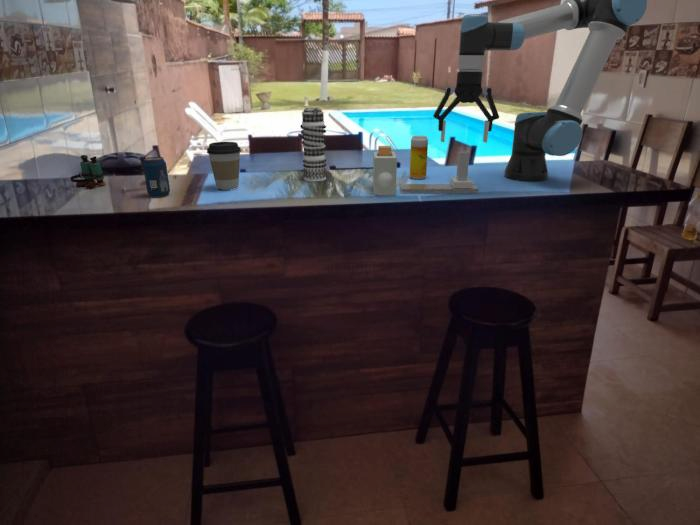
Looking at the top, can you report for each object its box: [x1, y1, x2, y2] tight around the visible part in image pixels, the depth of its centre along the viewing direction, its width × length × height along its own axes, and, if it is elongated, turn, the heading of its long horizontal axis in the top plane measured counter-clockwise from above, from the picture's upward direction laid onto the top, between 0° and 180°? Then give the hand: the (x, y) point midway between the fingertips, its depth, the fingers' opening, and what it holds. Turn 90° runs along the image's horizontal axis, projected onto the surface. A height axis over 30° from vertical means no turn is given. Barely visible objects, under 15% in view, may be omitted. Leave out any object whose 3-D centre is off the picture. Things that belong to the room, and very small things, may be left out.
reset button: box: [377, 145, 392, 156], centre depth 161 cm, size 4×4×5 cm
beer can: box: [409, 135, 429, 180], centre depth 181 cm, size 6×6×15 cm
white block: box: [372, 151, 398, 196], centre depth 163 cm, size 7×12×12 cm, turn 179°
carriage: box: [449, 150, 474, 188], centre depth 163 cm, size 6×7×11 cm
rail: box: [399, 183, 479, 194], centre depth 165 cm, size 25×7×2 cm, turn 89°
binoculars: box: [70, 154, 106, 190], centre depth 172 cm, size 9×11×10 cm
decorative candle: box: [299, 107, 327, 182], centre depth 179 cm, size 9×9×25 cm
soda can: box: [142, 156, 171, 198], centre depth 160 cm, size 7×7×12 cm
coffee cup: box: [206, 141, 242, 191], centre depth 168 cm, size 11×11×15 cm
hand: (463, 141), depth 159 cm, fingers open, 13 cm apart
